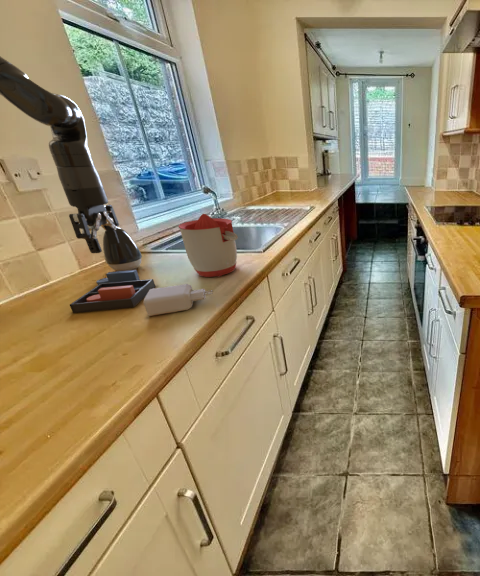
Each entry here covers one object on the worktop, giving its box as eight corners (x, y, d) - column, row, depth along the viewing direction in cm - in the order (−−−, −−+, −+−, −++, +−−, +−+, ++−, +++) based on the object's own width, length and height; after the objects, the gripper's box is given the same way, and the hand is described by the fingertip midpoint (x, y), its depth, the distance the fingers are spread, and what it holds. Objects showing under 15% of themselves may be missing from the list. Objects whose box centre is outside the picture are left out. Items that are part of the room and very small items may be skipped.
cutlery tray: (73, 313, 83) (69, 304, 82) (103, 291, 96) (100, 283, 95) (133, 307, 86) (130, 299, 85) (155, 286, 99) (153, 279, 98)
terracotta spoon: (132, 302, 87) (128, 289, 86) (85, 306, 85) (79, 293, 83) (139, 296, 91) (134, 283, 89) (93, 300, 88) (88, 287, 87)
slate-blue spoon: (136, 284, 100) (132, 273, 98) (95, 288, 98) (90, 276, 96) (141, 280, 103) (137, 268, 102) (102, 283, 101) (97, 271, 99)
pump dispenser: (143, 262, 120) (130, 222, 113) (146, 269, 112) (132, 227, 106) (109, 268, 114) (92, 226, 107) (110, 276, 106) (93, 232, 100)
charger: (213, 306, 86) (148, 318, 81) (215, 293, 94) (155, 303, 88) (209, 291, 84) (142, 301, 79) (211, 278, 92) (150, 287, 86)
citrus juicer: (228, 282, 102) (214, 219, 94) (180, 278, 105) (163, 217, 96) (254, 265, 116) (244, 210, 108) (212, 262, 119) (199, 208, 110)
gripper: (83, 182, 85) (105, 241, 91) (44, 189, 72) (72, 257, 79) (115, 182, 86) (134, 240, 93) (82, 188, 74) (107, 255, 80)
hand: (106, 248), depth 86 cm, fingers open, 8 cm apart
